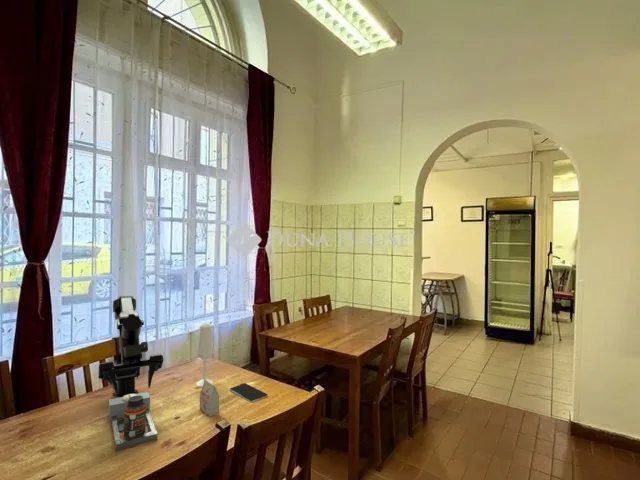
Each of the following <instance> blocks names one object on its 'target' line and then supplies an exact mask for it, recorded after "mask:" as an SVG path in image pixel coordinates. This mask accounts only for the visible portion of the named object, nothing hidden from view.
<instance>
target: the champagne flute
mask: <svg viewBox="0 0 640 480" xmlns="http://www.w3.org/2000/svg"><path fill="white" fill-rule="evenodd" d="M198 329H199V331H198V337H197V347H196V355H197V356H198V357H199V358H200V359H201V360H203V362H202V363H203V364H202V365H203V368H202V369H203V370H202V371H203V372H202V373H203V375H202V376H203V377H202V379H200V380H198V381H196V383H195V385H196V386H197V387H203V384H204V381H205V380H207V381H208V382H210V383H211V384H213V382H214V381H213V380H211V379H209V378H208V377H207V361H208V360H209V359H210V358H211V357H212V355H213V354H214V341H213V326H212V324H209V323H205V324H200V325H199V327H198Z"/></svg>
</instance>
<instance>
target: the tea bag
mask: <svg viewBox="0 0 640 480" xmlns="http://www.w3.org/2000/svg"><path fill="white" fill-rule="evenodd" d="M201 387H202V388H201V390H200V392H199V411H201V412H202V413H203V414H205V415H206V416H207V417H212V416H215V415H218V414H219V413H220V395H219V393H218V391H217V388H216V386H215V385H214V384H213V383H212V384H211V383H210V382H208V381H207V380H205V381H204V384H203V386H201Z"/></svg>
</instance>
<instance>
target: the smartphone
mask: <svg viewBox="0 0 640 480" xmlns="http://www.w3.org/2000/svg"><path fill="white" fill-rule="evenodd" d="M229 392H230V393H232V394H233V395H236V396H238V397H240V398H241V399H244V400H246V401H248V402H250V403H252V402H253V403H255V402H258V401H260V400H263V399H265V398H267V397H266V396H268V394H269V393H266V392H264V391H261V390H259V389H258V388H256V387H254V386H252V385H251V384H250V385H249V384H247V383H245V382H244V383H242V384H239V385H236V386H233V387H231V388H229ZM264 397H265V398H264ZM262 398H263V399H262Z"/></svg>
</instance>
